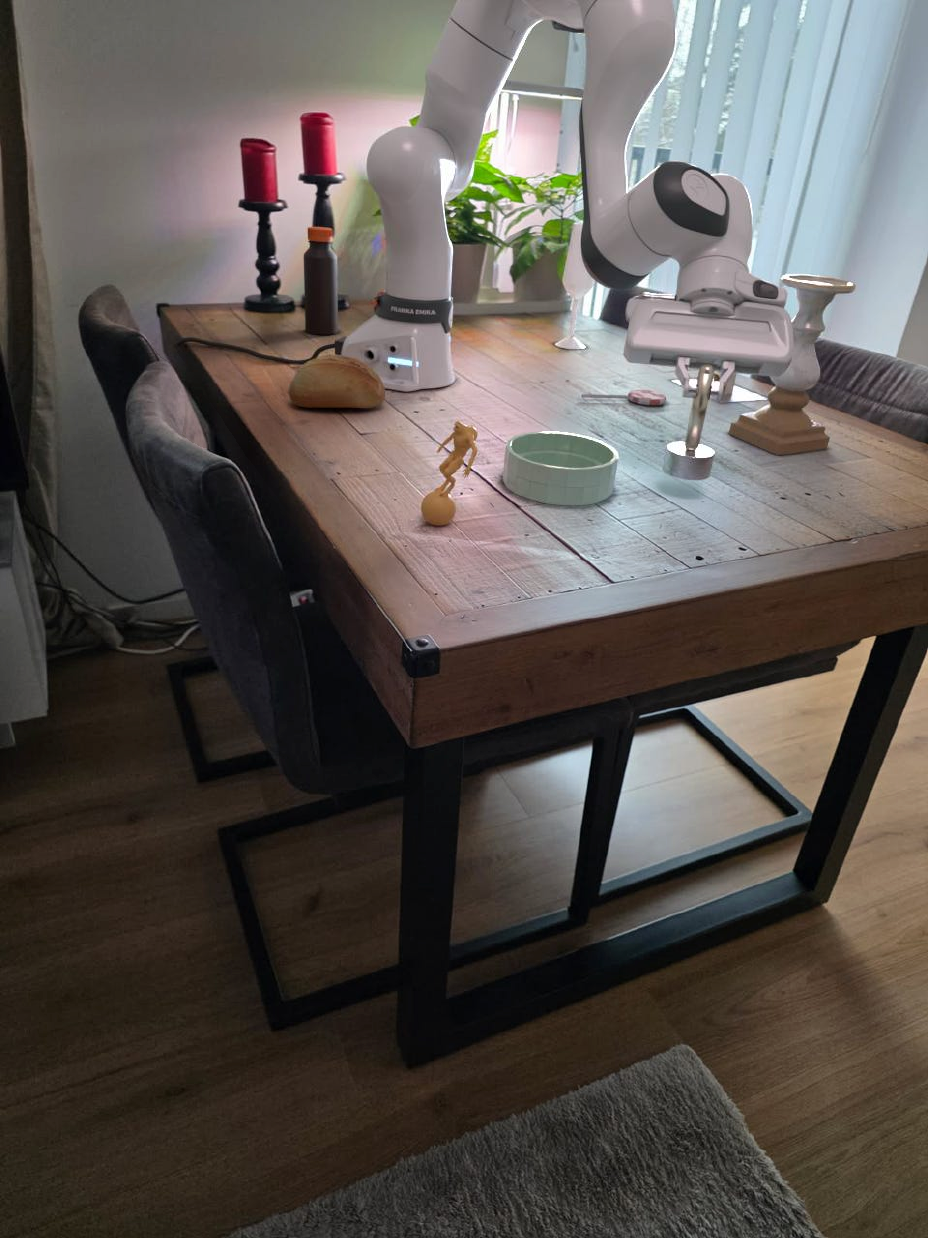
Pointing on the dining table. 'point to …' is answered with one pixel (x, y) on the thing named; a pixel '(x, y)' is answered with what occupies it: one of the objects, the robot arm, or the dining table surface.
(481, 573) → the dining table surface
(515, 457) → the bowl
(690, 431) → the meat pounder
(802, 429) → the candle holder
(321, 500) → the dining table surface
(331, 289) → the bottle
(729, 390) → the architectural model
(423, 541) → the dining table surface
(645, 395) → the lollipop
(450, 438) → the figurine
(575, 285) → the champagne flute
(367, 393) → the bread roll
